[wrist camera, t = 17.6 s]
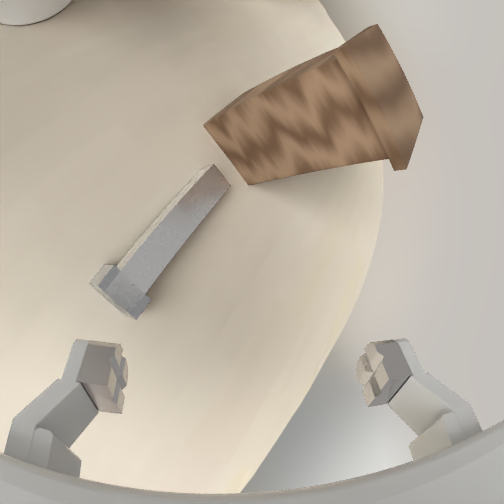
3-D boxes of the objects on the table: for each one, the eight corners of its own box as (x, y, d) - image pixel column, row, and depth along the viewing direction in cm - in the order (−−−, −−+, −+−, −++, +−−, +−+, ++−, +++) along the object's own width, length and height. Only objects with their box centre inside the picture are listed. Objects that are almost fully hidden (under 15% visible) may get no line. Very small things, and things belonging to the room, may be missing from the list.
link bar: (209, 158, 41) (192, 166, 44) (97, 285, 30) (89, 283, 33) (234, 191, 43) (216, 196, 47) (136, 319, 33) (124, 314, 36)
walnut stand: (194, 123, 42) (345, 46, 22) (244, 85, 48) (377, 23, 28) (248, 194, 49) (406, 169, 29) (287, 148, 54) (423, 117, 34)
